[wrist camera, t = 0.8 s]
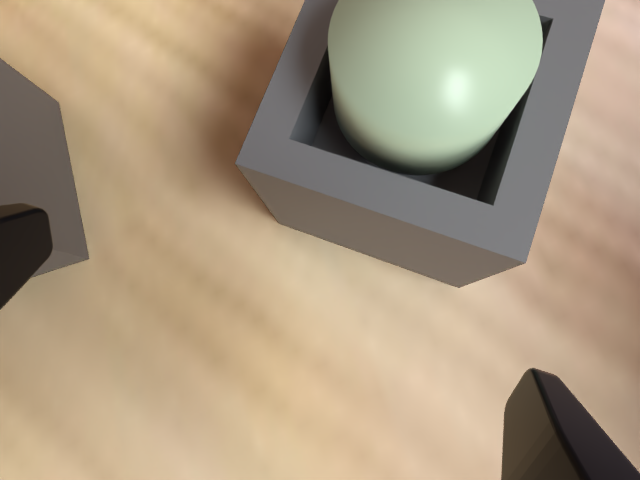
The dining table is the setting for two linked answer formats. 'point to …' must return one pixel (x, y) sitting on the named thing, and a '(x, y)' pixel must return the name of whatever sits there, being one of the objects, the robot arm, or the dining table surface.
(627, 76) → the dining table surface
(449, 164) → the green button
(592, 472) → the robot arm
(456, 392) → the dining table surface
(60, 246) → the terracotta button housing
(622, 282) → the dining table surface
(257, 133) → the grey button housing
